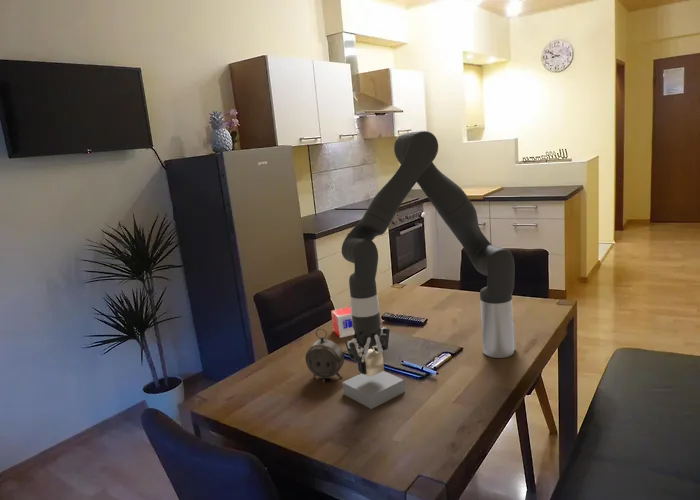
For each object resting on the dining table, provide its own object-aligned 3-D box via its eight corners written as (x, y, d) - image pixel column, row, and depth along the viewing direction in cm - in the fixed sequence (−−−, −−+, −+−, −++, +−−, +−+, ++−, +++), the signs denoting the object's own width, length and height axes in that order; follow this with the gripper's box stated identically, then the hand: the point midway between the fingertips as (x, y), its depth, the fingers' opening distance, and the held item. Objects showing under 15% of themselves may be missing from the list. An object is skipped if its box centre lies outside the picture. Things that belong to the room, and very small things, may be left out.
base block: (376, 379, 152) (375, 367, 152) (404, 393, 143) (403, 379, 142) (343, 395, 145) (342, 382, 145) (371, 410, 136) (370, 396, 135)
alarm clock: (346, 376, 156) (340, 325, 152) (340, 385, 151) (334, 332, 147) (313, 374, 159) (306, 324, 156) (306, 382, 154) (299, 331, 151)
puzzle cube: (353, 326, 195) (351, 306, 194) (360, 333, 188) (358, 312, 186) (333, 331, 193) (330, 310, 191) (339, 338, 186) (337, 317, 184)
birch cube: (372, 365, 146) (370, 348, 145) (384, 370, 142) (382, 353, 141) (358, 371, 143) (356, 354, 142) (370, 377, 139) (368, 359, 138)
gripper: (352, 321, 132) (359, 383, 136) (394, 306, 140) (399, 364, 144) (335, 315, 138) (342, 375, 141) (376, 300, 146) (381, 357, 150)
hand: (371, 369), depth 143 cm, fingers closed on birch cube, 5 cm apart
